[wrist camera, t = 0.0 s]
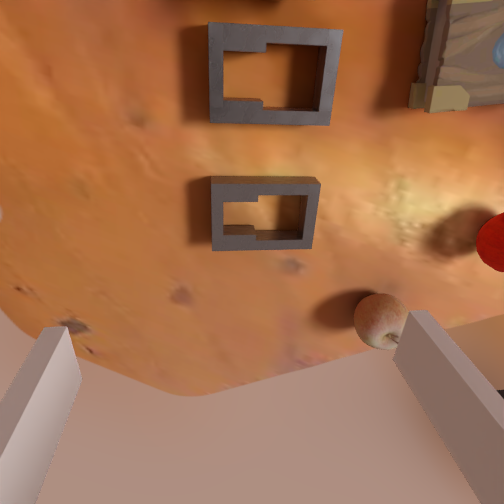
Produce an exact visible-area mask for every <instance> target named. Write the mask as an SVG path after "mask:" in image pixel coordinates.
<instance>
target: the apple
mask: <svg viewBox="0 0 504 504" xmlns="http://www.w3.org/2000/svg"><path fill="white" fill-rule="evenodd" d="M476 248H477V252H478V254H479V256H480V258H481V259H482V261H483V262H484V263H486V264H487V265H489V266H490V267H492V268H493V269H495V270H496V271H500V272H504V213H501V214H499V215H497V216H495V217H493V218H491V219H490V220H489V221H487V222H486V223H485V224H484V225H483V226H482V228H481V229H480V230H479V232H478V234H477V239H476Z"/></svg>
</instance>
